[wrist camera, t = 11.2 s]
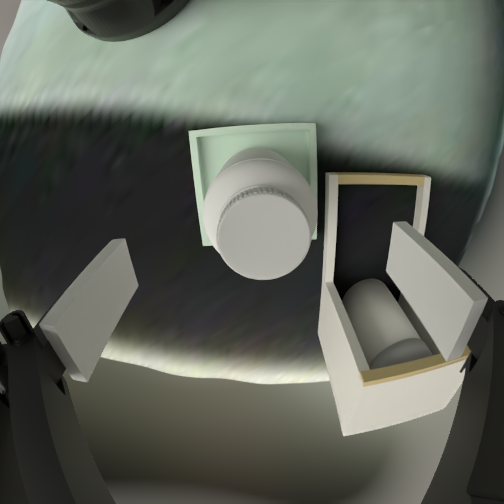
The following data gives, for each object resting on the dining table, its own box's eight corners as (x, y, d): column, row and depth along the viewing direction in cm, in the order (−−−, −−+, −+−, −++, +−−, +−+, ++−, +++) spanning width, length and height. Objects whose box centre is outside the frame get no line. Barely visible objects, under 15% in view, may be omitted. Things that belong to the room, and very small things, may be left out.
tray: (192, 130, 27) (188, 131, 25) (312, 122, 27) (315, 123, 25) (205, 239, 32) (203, 246, 31) (313, 233, 32) (316, 239, 30)
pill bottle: (305, 159, 28) (355, 197, 14) (280, 228, 31) (301, 313, 18) (231, 136, 27) (211, 149, 13) (210, 208, 30) (178, 282, 17)
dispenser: (325, 172, 29) (399, 231, 14) (424, 174, 28) (526, 226, 13) (317, 332, 39) (343, 436, 23) (398, 322, 38) (444, 408, 23)
